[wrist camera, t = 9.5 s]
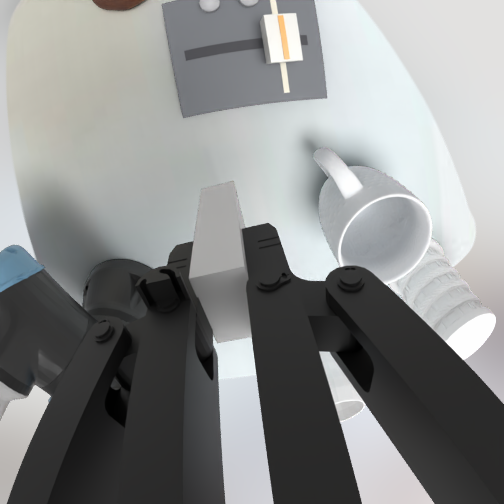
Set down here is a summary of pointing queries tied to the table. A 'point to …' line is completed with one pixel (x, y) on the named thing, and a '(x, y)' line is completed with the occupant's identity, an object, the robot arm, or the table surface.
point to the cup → (341, 389)
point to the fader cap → (281, 38)
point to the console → (239, 54)
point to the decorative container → (446, 302)
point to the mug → (371, 219)
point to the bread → (117, 4)
